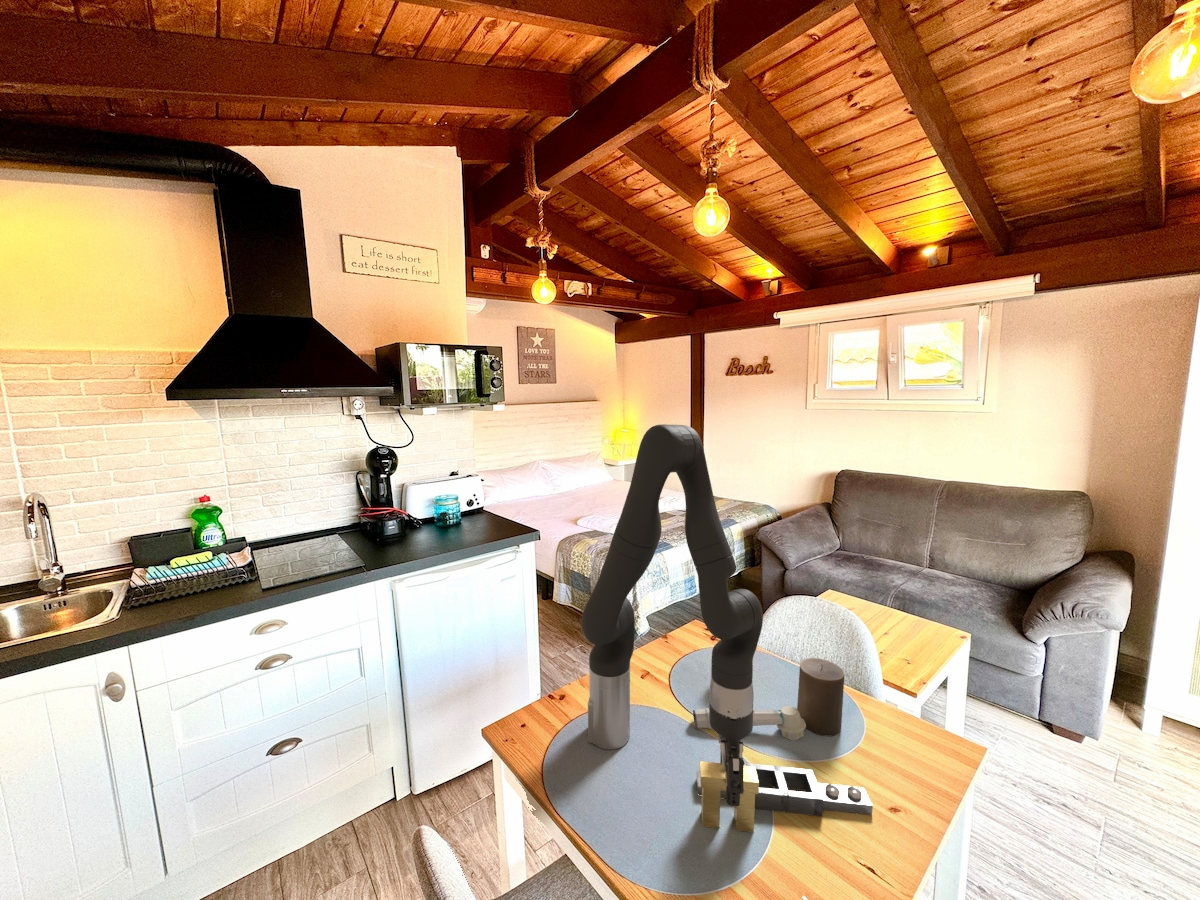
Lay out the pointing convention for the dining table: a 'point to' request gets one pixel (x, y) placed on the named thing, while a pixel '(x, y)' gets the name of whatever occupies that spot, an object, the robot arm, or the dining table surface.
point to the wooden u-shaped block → (715, 782)
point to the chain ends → (803, 793)
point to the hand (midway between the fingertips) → (729, 784)
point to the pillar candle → (821, 696)
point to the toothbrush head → (765, 720)
